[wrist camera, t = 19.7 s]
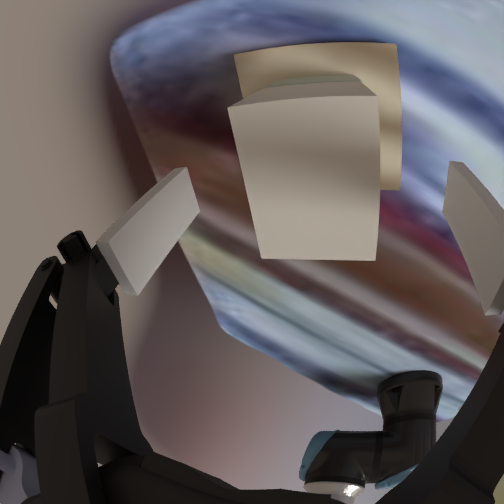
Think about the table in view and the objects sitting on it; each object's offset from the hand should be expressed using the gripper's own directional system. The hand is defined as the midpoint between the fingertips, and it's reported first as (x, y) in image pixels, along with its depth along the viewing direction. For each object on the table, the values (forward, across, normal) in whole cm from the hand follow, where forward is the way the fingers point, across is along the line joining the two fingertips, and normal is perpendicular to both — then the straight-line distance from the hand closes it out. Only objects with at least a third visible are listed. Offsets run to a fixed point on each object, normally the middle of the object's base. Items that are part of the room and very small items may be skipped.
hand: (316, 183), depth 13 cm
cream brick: (+6, 0, 0) cm, 6 cm away
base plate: (+14, 0, 0) cm, 15 cm away
